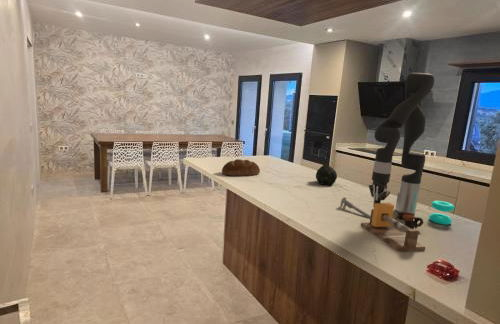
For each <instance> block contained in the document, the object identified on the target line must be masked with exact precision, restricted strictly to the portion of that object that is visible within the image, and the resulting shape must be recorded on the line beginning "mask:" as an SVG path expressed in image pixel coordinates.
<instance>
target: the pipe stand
mask: <svg viewBox="0 0 500 324" xmlns="http://www.w3.org/2000/svg"><path fill="white" fill-rule="evenodd" d="M373 210H374V208H372V209H371V212H370V215H371V217H370V218H369V222H361V224H360V226H361V227H362V228H363V229H365V230H367V231H368V232H369V233H370V234H373V235H374V236H376V237H377V238H378V239H380V240H381V241H383V242H384V243H385V244H388V245H389V246H390V247H392V248H393V249H394V250H395V251H398V252H399V253H401V252H414V251H415V252H418V251H420V252H421V251H425V250H426V246H425V245H423V244H421V243H420V242H418V236H419V232H420V231H419V230H418V229H417V228H414V229H411V228H409V227H407V226H405V225H403V224H404V223H401V222H400V221H399V220H397V219H394V218H393V217H392V218H391V217H389V216H387V215H385V214H382V216H381V218H382V219H383V220H385V221H387V222H388V223H390V224H391V226H386V227H375V226H373V225H372V224H371V223H372V216H373ZM394 227H395V228H394ZM396 228H397V229H396ZM398 229H399V230H401V231H402V232H401V231H399V230H398ZM403 232H404V233H403Z"/></svg>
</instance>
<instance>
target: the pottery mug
mask: <svg viewBox="0 0 500 324" xmlns="http://www.w3.org/2000/svg"><path fill="white" fill-rule="evenodd" d="M397 219H398V221H399V220H400V221H404V223H402V224H403V225H405V226H407V227H409V228H411V229H417V228H418V227H419V228H420V227H422V226H423V224H424V219H423V218H421V217H417V216H415V214H413V213H408V212H401V213H399V212H397V216H396V217H395V220H397ZM418 222H419V223H418Z"/></svg>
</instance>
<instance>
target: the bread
mask: <svg viewBox="0 0 500 324" xmlns="http://www.w3.org/2000/svg"><path fill="white" fill-rule="evenodd" d="M221 173H222V174H223V175H224V176H229V175H230V176H231V177H250V176H251V177H252V176H256V175H259V174H260V173H261V169H260V167H259V165H258V164H257V163H256V162H254V161H251V160H249V159H244V160H243V159H241V158H240V159H239V158H237V159H235V160H230V161H228V162H226V163H225V164H224V165H223V167H222V168H221Z"/></svg>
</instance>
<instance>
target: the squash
mask: <svg viewBox="0 0 500 324" xmlns="http://www.w3.org/2000/svg"><path fill="white" fill-rule="evenodd" d="M315 179H316V180H317V184H321V185H327V186H329V185H330V186H331V185H334V184H335V183H336V180H337V179H338V174H337V171H336V170H335V169H334V168H333V167H331V166H330V165H328V164H326V163H325V164H322V166H320V167H319V168H318V169H317V171H316V173H315Z"/></svg>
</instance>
